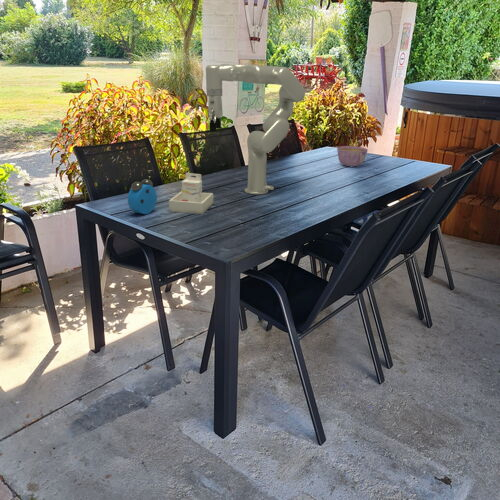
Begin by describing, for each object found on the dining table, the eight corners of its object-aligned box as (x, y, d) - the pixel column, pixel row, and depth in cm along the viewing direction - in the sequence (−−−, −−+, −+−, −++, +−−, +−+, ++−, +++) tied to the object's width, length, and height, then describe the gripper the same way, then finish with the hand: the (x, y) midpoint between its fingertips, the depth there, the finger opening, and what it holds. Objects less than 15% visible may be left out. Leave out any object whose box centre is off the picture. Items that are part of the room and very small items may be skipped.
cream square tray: (213, 203, 242) (213, 193, 240) (202, 214, 225) (202, 203, 224) (181, 200, 245) (181, 190, 243) (169, 211, 228) (168, 200, 226)
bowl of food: (368, 169, 323) (370, 151, 319) (337, 168, 323) (339, 151, 319) (362, 163, 342) (364, 146, 338) (333, 162, 342) (335, 145, 338)
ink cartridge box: (181, 205, 234) (180, 174, 228) (185, 202, 238) (185, 172, 233) (198, 207, 231) (198, 176, 226) (202, 204, 236) (202, 174, 230)
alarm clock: (147, 208, 231) (146, 176, 226) (158, 210, 228) (156, 178, 223) (128, 215, 221) (126, 182, 215) (139, 218, 218) (137, 184, 212)
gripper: (218, 94, 227) (219, 132, 233) (226, 91, 243) (226, 127, 249) (202, 94, 228) (203, 132, 235) (211, 91, 244) (212, 126, 250)
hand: (215, 129), depth 242 cm, fingers open, 9 cm apart
